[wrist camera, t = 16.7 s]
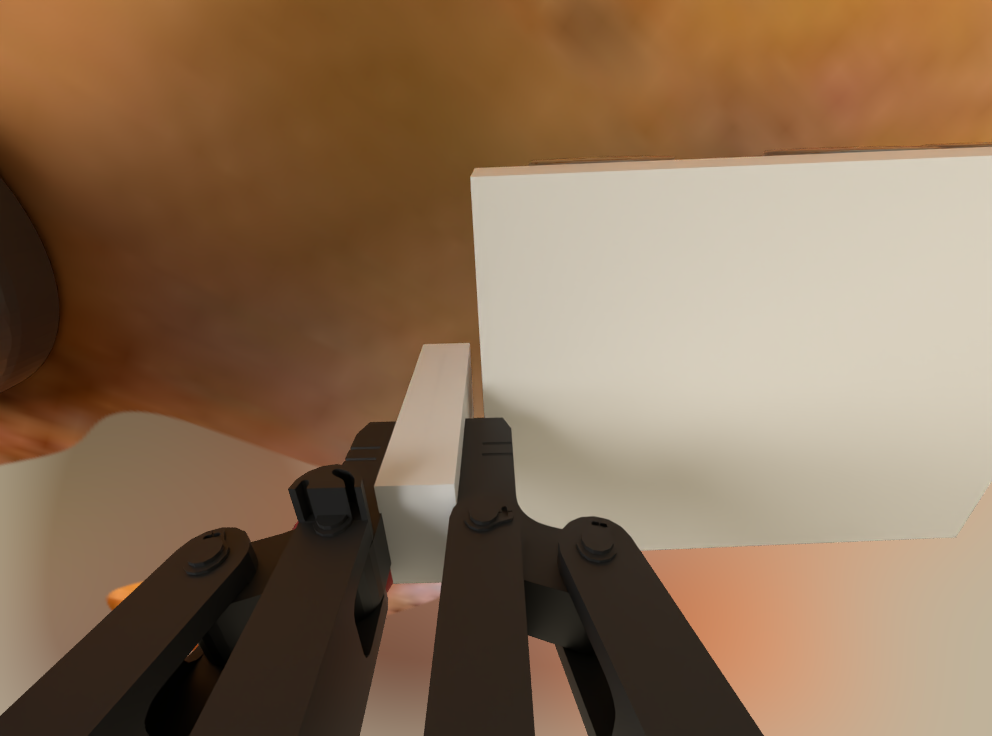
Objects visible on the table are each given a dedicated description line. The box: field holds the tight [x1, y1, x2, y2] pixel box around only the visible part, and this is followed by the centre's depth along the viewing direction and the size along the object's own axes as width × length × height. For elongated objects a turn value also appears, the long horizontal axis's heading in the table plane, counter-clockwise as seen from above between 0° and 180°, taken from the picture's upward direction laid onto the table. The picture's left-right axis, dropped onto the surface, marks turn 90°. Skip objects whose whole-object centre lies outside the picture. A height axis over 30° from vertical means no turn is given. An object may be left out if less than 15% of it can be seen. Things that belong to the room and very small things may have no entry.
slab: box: [470, 147, 992, 551], centre depth 14 cm, size 16×12×4 cm
